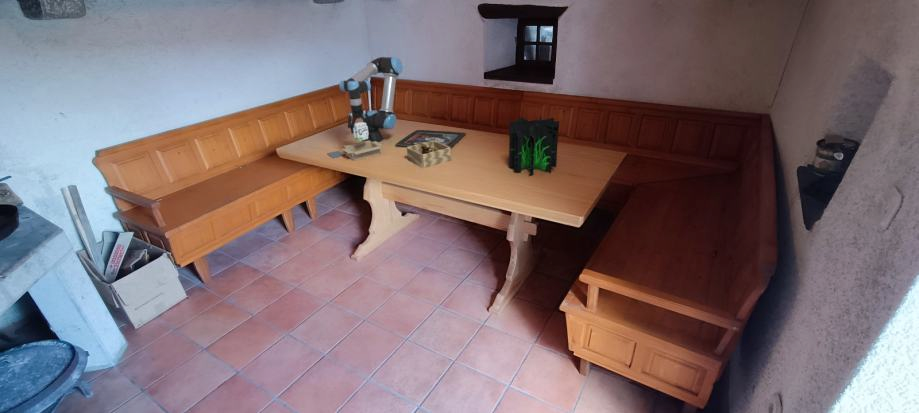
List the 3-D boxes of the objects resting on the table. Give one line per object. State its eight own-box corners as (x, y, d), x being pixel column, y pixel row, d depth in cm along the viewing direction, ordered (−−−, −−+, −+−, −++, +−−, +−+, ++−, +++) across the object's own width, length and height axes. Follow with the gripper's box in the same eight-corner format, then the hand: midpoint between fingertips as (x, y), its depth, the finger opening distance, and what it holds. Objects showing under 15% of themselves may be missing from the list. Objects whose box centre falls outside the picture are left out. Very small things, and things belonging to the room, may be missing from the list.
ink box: (358, 141, 299) (356, 125, 294) (354, 140, 303) (352, 124, 297) (368, 138, 305) (366, 122, 300) (364, 137, 308) (362, 121, 303)
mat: (338, 151, 318) (338, 150, 318) (344, 155, 309) (344, 154, 309) (327, 154, 313) (326, 153, 313) (332, 158, 304) (332, 157, 304)
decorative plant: (564, 171, 265) (567, 124, 251) (520, 178, 258) (521, 130, 244) (543, 156, 290) (545, 113, 276) (502, 163, 283) (502, 118, 269)
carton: (373, 147, 324) (372, 139, 321) (387, 154, 307) (386, 146, 304) (340, 154, 310) (339, 147, 308) (352, 163, 294) (351, 155, 291)
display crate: (435, 152, 308) (434, 140, 303) (452, 160, 291) (451, 147, 287) (406, 159, 296) (405, 147, 292) (423, 168, 280) (421, 155, 276)
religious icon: (450, 151, 308) (450, 147, 306) (395, 147, 322) (394, 144, 320) (467, 135, 342) (467, 131, 340) (416, 132, 356) (416, 129, 354)
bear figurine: (440, 161, 290) (439, 144, 285) (418, 163, 289) (417, 146, 283) (438, 154, 303) (437, 138, 297) (417, 156, 301) (416, 140, 296)
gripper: (368, 100, 300) (373, 131, 311) (339, 106, 290) (344, 137, 300) (373, 102, 295) (377, 133, 305) (343, 108, 284) (348, 140, 294)
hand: (361, 135), depth 302 cm, fingers closed on ink box, 9 cm apart
